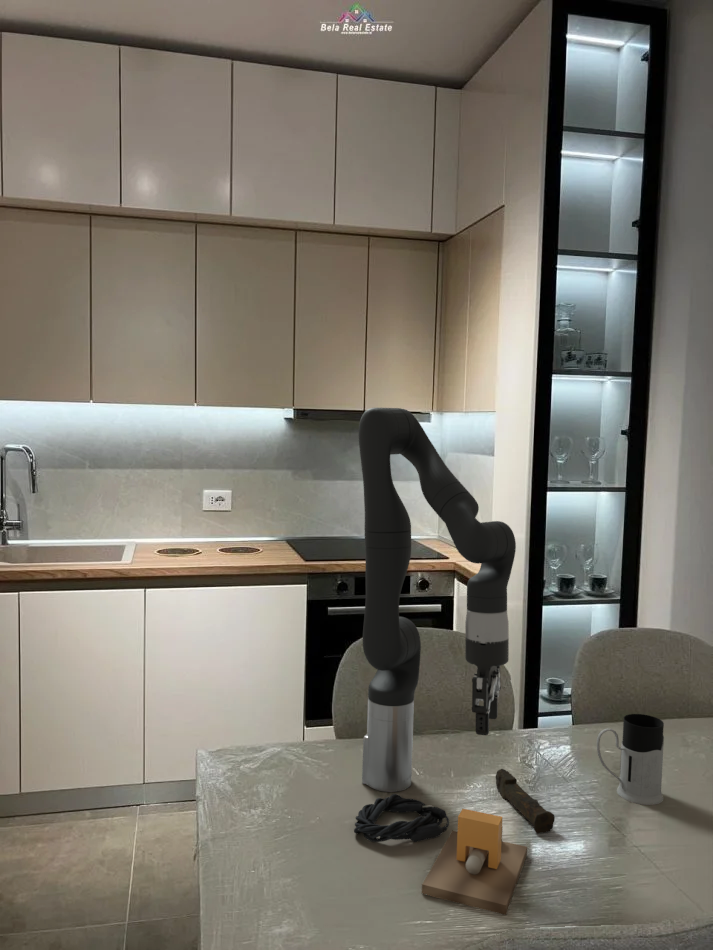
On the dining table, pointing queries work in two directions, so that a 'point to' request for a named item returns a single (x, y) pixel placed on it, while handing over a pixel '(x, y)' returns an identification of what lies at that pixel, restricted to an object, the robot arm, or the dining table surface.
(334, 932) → the dining table surface
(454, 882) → the wooden base plate
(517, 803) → the dark brown tapered rod
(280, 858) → the dining table surface
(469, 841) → the notched block
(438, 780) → the dining table surface
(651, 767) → the glass holder
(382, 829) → the cable
